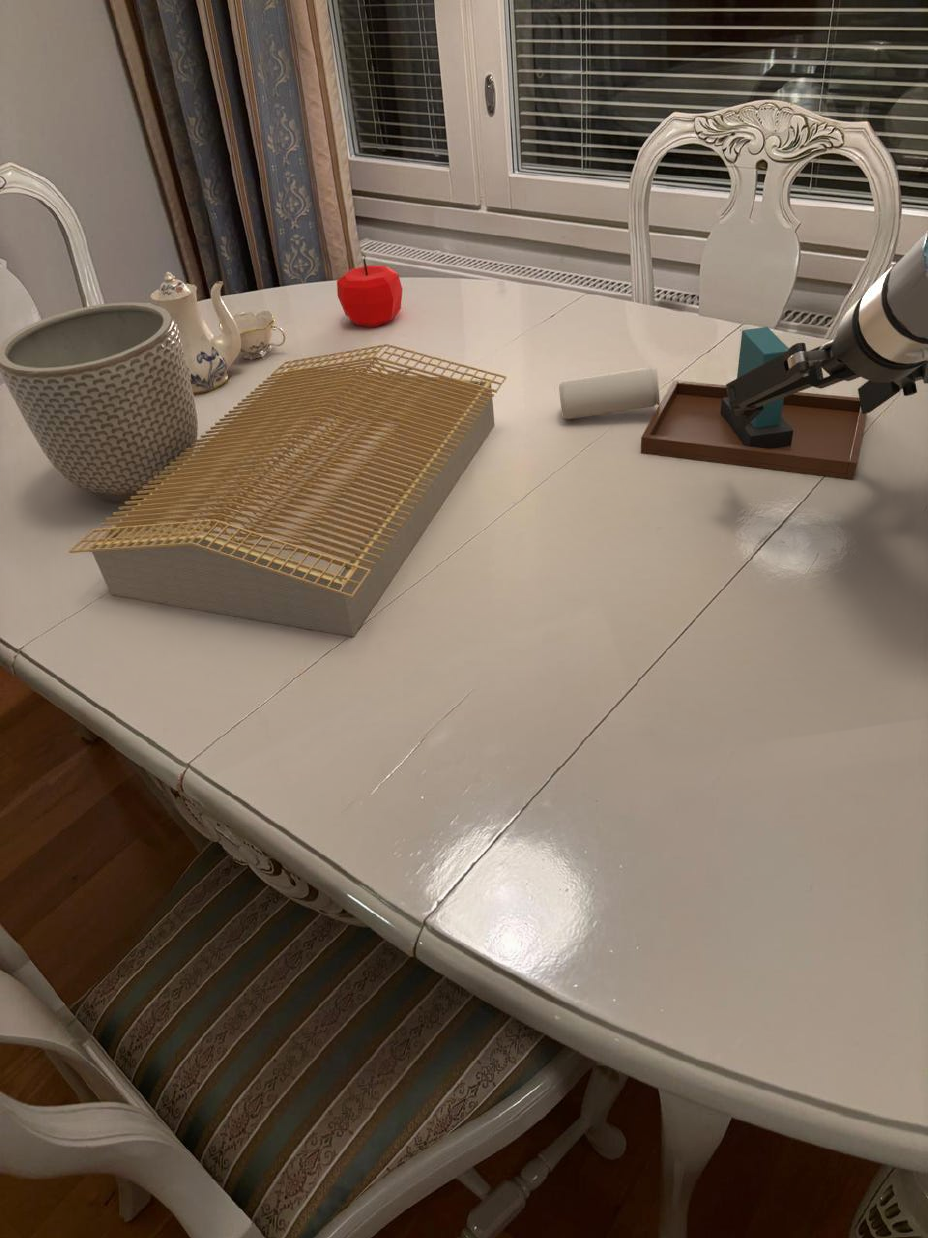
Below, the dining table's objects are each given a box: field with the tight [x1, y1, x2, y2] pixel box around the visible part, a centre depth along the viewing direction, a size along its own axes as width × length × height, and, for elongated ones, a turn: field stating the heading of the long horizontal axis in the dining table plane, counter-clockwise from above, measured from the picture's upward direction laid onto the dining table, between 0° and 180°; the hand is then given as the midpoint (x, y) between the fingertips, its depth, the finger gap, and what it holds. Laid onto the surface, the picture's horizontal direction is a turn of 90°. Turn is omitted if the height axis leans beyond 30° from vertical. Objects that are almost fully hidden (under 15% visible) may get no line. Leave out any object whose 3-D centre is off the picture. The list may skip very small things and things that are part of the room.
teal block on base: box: [720, 326, 793, 449], centre depth 102 cm, size 5×10×11 cm, turn 6°
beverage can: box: [558, 366, 661, 420], centre depth 111 cm, size 5×5×12 cm
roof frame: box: [68, 343, 507, 638], centre depth 100 cm, size 45×32×10 cm
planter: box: [0, 301, 199, 504], centre depth 105 cm, size 20×20×19 cm
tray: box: [640, 379, 868, 480], centre depth 105 cm, size 24×16×2 cm, turn 66°
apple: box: [336, 252, 403, 328], centre depth 143 cm, size 11×11×10 cm
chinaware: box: [147, 271, 287, 395], centre depth 130 cm, size 28×17×17 cm, turn 111°
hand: (799, 409), depth 93 cm, fingers open, 13 cm apart
